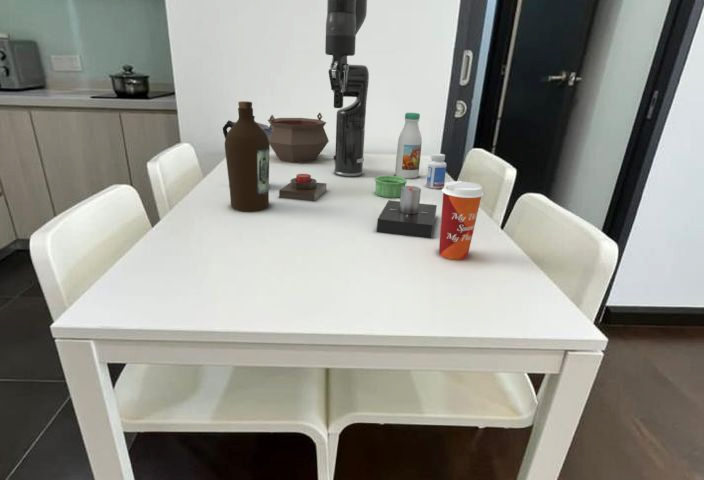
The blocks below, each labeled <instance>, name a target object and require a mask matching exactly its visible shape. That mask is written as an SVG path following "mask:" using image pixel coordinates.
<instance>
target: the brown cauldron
mask: <svg viewBox="0 0 704 480" xmlns="http://www.w3.org/2000/svg"><path fill="white" fill-rule="evenodd" d="M316 117H317V118H309V117H277V118H275V117H274V115H273V114H271V115H270V117H269V119H267V122H268V123H269V124H270V125H269V127H270V128H272V129H273V130H274V132H272V134H271V136H270V138H269V146H270V148H271V149H272V151H273V152H274V154H275V155H276V157H277V158H278V159H279V161H281V162H286V163H294V164H295V163H296V164H297V163H298V164H299V163H310V162H313V161H316V160H317V159H318V158H319V156H320V154H321V153H322V152H323V151H324V149H325V147H326V146H327V145H328V143H330V140H329V138H328V135H327V133H326V130H325V126H326V124H327V122H326V121H324V120H322V118H323V115H322V113H321V112H318V114H317V115H316Z"/></svg>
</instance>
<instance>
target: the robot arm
mask: <svg viewBox="0 0 704 480" xmlns="http://www.w3.org/2000/svg"><path fill="white" fill-rule="evenodd" d="M326 2H327V3H326V4H327V6H326V20H325V43H324V44H325V46H324V47H325V48H324V51H325V52H324V53H325V55H327V56H332V60H331V63H330V66H329V67H330V68H329V69H328V77H329V83H330V89H331V91H332V93H333V108H334V109H338V110H337V111H336V119H335V121H336V122H335V124H336V125H335V151H334V152H335V153H334V156H333V159H334V175H337V176H341V177H360V176H362V175H363V173H364V172H363V169H364V162H365V157H364V150H365V134H366V133H365V132H366V114H367V113H366V112H367V101H368V90H369V83H370V81H369V80H370V79H369V78H370V73H369V69H368V66H366V65H364V64H349V63H348V57H349V56H350V57H353V56H355V54H356V41H357V40H356V36H357V34H358V33H359V31H360V29H361V28H362V26H363V25H364V22H365V20H366V17H367V12H368V9H367V8H368V7H367V6H368V0H327V1H326ZM344 98H355V100H354V101H353V103H351V104H349V105H347V106H345V107H344Z"/></svg>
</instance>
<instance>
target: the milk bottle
mask: <svg viewBox="0 0 704 480" xmlns="http://www.w3.org/2000/svg"><path fill="white" fill-rule="evenodd" d="M420 116H421V114H420V113H419V112H405V114H404V125H403V127H402V130H401V131H400V134H399V136H398V140H397V147H396V148H397V149H396V159H395V171H394V172H395V173H394V176H397V177H402V178H405V179H417V178H418V177H419V172H420V166H421V165H420V164H421V156H422V143H423V141H422V134H421V131H420V127H419V126H420V125H419V122H420V118H421V117H420Z"/></svg>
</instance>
